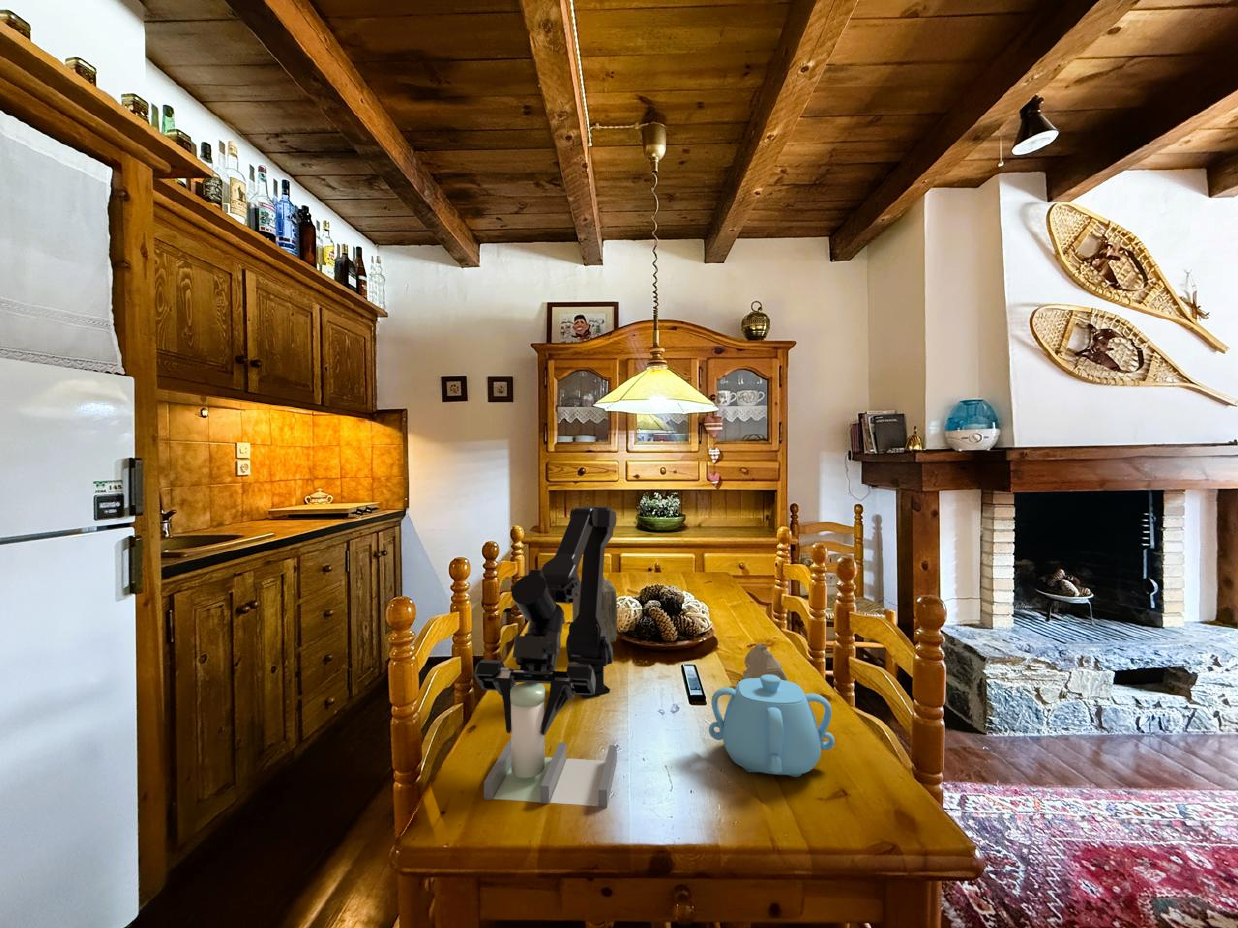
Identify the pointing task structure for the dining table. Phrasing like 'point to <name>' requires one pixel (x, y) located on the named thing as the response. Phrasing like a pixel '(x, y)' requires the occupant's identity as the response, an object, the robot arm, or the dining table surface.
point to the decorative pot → (771, 726)
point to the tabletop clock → (604, 608)
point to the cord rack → (555, 780)
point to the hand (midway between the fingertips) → (525, 733)
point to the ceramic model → (762, 664)
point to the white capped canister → (527, 729)
